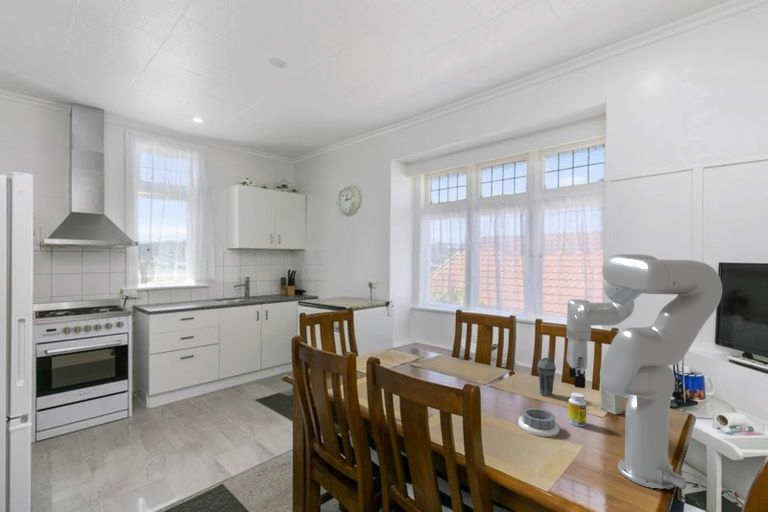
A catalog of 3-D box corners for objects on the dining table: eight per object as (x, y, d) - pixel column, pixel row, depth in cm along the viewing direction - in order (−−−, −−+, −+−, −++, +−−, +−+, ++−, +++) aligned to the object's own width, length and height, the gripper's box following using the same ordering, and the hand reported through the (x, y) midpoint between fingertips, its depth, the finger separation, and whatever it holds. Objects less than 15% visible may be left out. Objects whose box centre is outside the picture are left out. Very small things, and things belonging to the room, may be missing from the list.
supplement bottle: (580, 428, 125) (581, 398, 125) (565, 422, 130) (565, 393, 130) (589, 424, 128) (589, 395, 128) (573, 418, 133) (574, 390, 133)
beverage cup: (533, 392, 158) (533, 346, 158) (546, 390, 160) (547, 345, 160) (545, 398, 151) (546, 350, 151) (559, 397, 153) (560, 349, 153)
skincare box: (623, 413, 138) (623, 381, 138) (615, 415, 136) (615, 382, 136) (607, 406, 144) (607, 375, 144) (599, 408, 142) (599, 377, 142)
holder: (567, 431, 123) (568, 418, 123) (541, 440, 117) (541, 426, 117) (535, 416, 134) (535, 403, 134) (510, 423, 128) (510, 410, 128)
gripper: (562, 328, 138) (561, 373, 139) (571, 339, 122) (569, 390, 122) (584, 330, 136) (583, 375, 137) (596, 341, 120) (594, 393, 120)
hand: (576, 382), depth 129 cm, fingers open, 9 cm apart
